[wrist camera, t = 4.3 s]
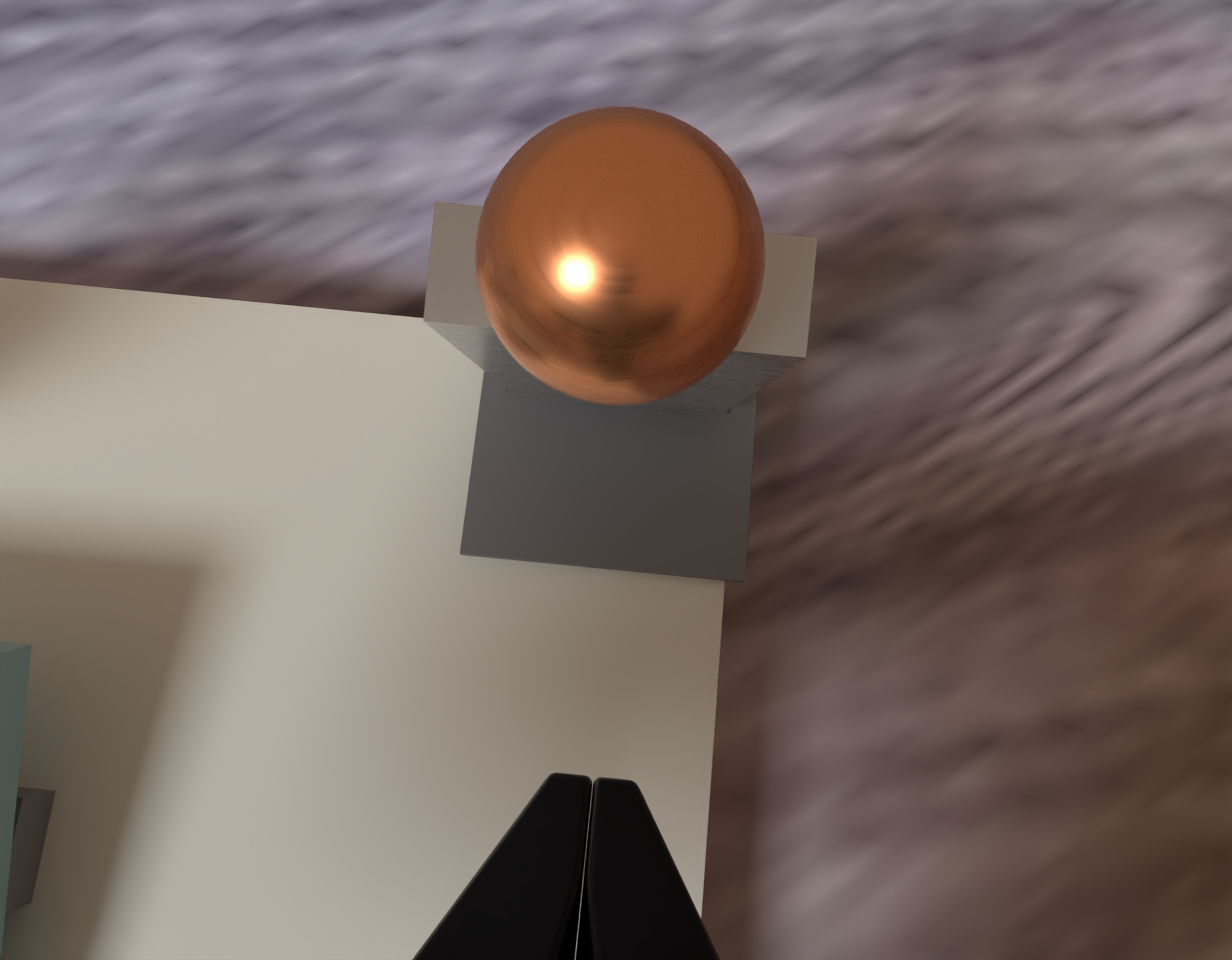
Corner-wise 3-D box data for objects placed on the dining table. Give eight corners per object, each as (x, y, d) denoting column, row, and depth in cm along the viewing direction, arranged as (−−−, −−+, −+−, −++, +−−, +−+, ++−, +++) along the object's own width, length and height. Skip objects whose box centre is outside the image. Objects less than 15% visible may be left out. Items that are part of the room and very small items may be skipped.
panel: (673, 1361, 14) (690, 1527, 11) (-612, 1230, 14) (-902, 1363, 11) (741, 386, 17) (766, 333, 15) (-298, 286, 18) (-464, 215, 15)
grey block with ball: (722, 457, 15) (883, 416, 6) (505, 436, 15) (324, 363, 6) (735, 324, 15) (914, 77, 6) (518, 304, 15) (358, 24, 6)
